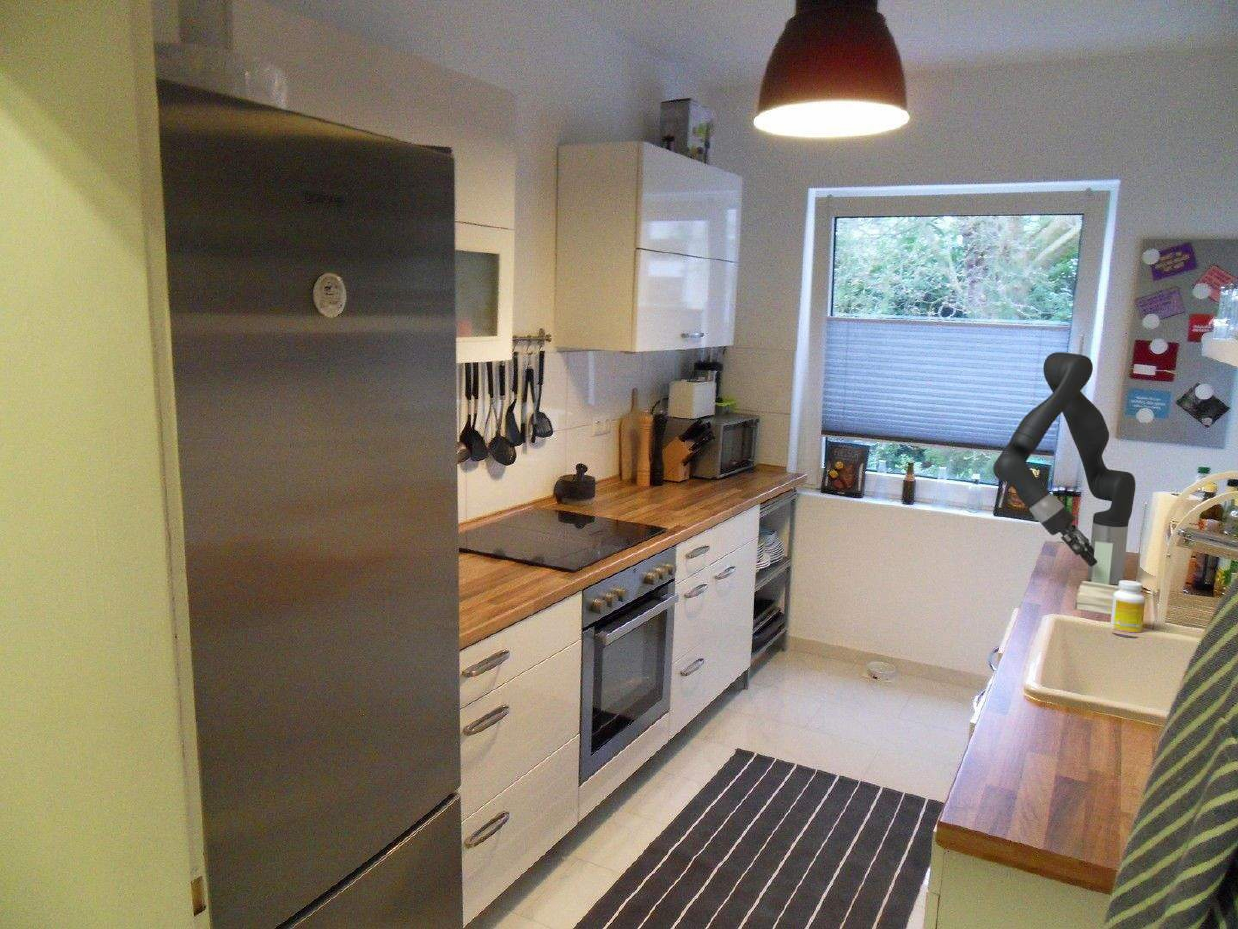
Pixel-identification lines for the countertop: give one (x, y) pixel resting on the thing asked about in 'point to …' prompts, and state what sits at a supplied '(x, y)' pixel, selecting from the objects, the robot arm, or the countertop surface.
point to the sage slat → (1102, 562)
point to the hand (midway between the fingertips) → (1095, 561)
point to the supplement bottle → (1128, 609)
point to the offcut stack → (1096, 597)
